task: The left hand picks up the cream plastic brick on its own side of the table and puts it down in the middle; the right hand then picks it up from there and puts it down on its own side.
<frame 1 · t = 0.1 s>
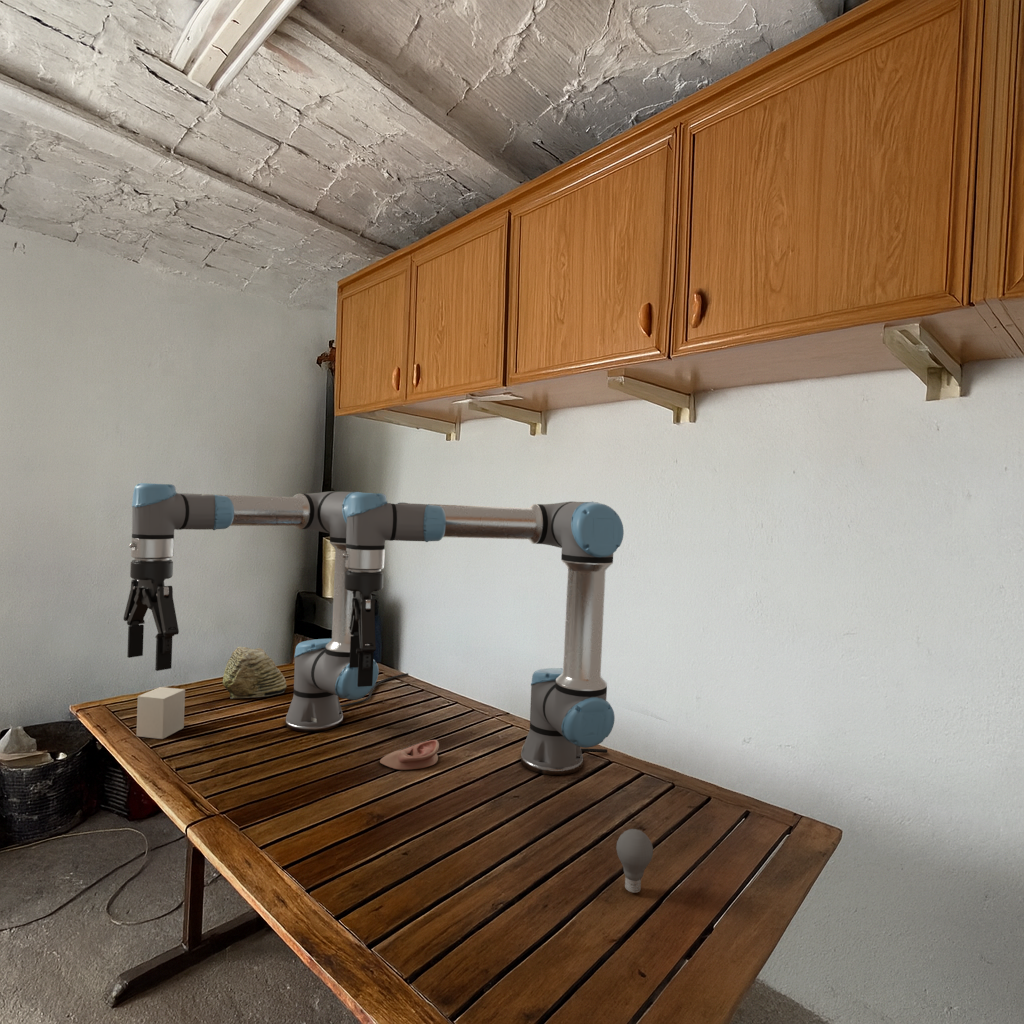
left hand: (148, 662, 129), 28 cm above the table, tool pointing down, fingers open, 13 cm apart
right hand: (360, 676, 126), 28 cm above the table, tool pointing down, fingers open, 13 cm apart
anatomical model: (409, 761, 154), on the table
light bulb: (632, 891, 106), on the table
fossil: (254, 694, 198), on the table
brick: (160, 732, 165), on the table
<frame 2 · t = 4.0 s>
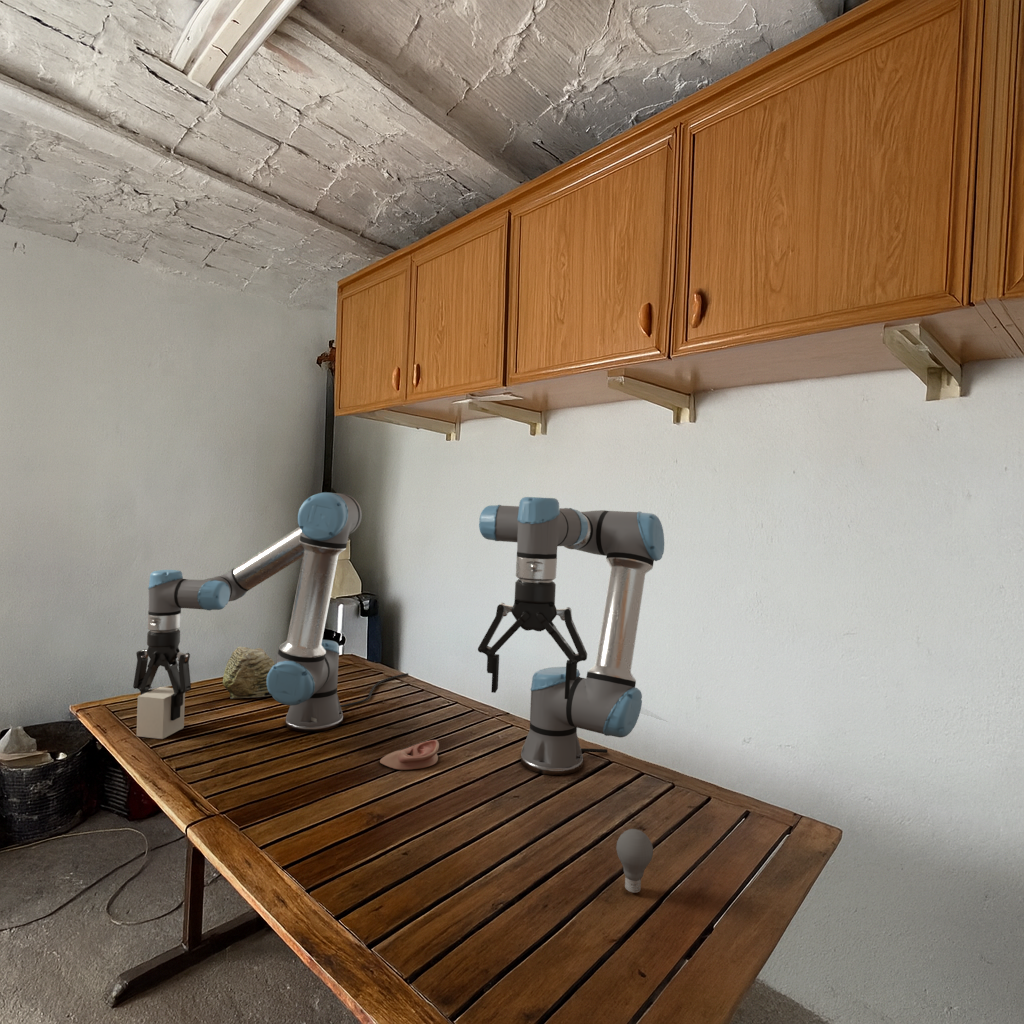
left hand: (161, 717, 165), 4 cm above the table, tool pointing down, fingers closed on brick, 7 cm apart
right hand: (530, 693, 118), 28 cm above the table, tool pointing down, fingers open, 13 cm apart
brick: (160, 732, 165), on the table, touching left hand
everything else where it was.
when the left hand's fingers open (5 cm above the table, at t = 11.0 s): brick drops 1 cm, on the table.
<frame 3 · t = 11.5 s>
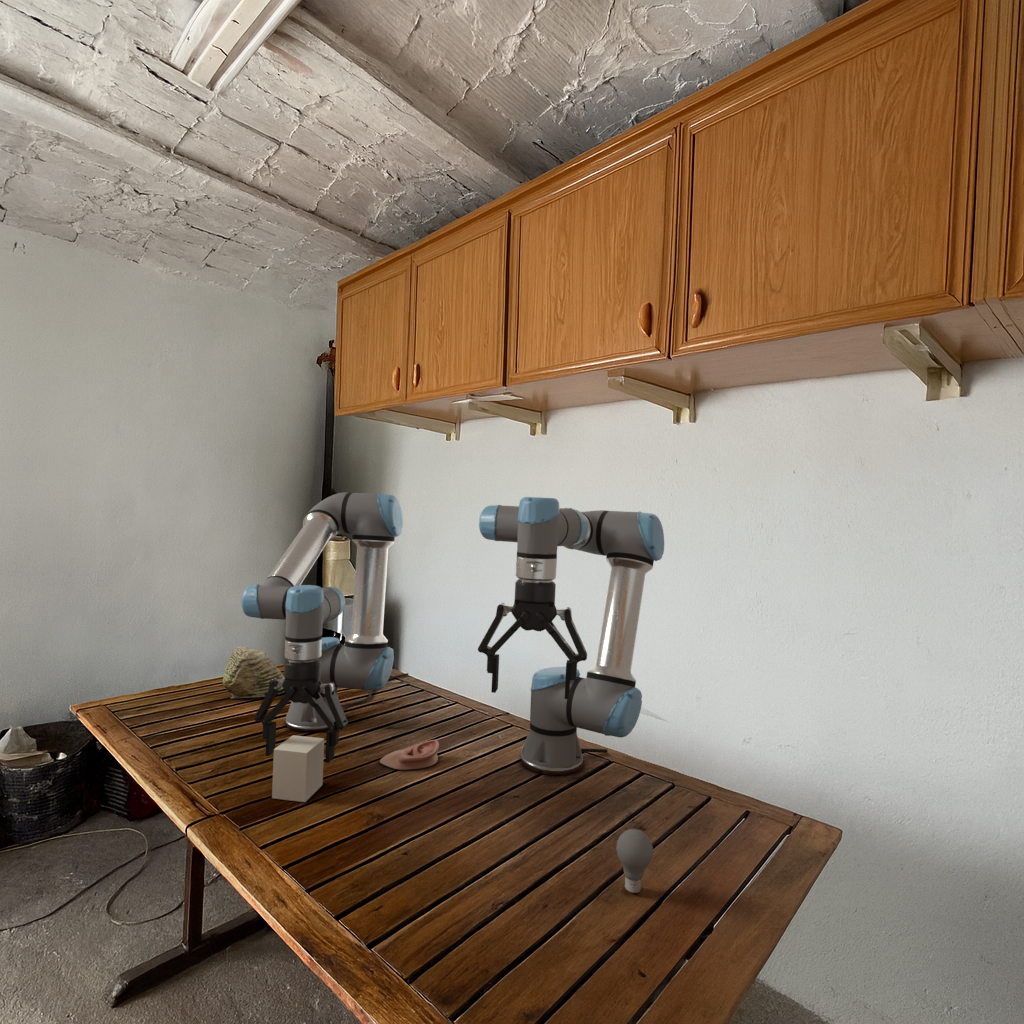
left hand: (299, 757, 136), 7 cm above the table, tool pointing down, fingers open, 13 cm apart
right hand: (530, 693, 118), 28 cm above the table, tool pointing down, fingers open, 13 cm apart
brick: (297, 791, 136), on the table
everything else where it was.
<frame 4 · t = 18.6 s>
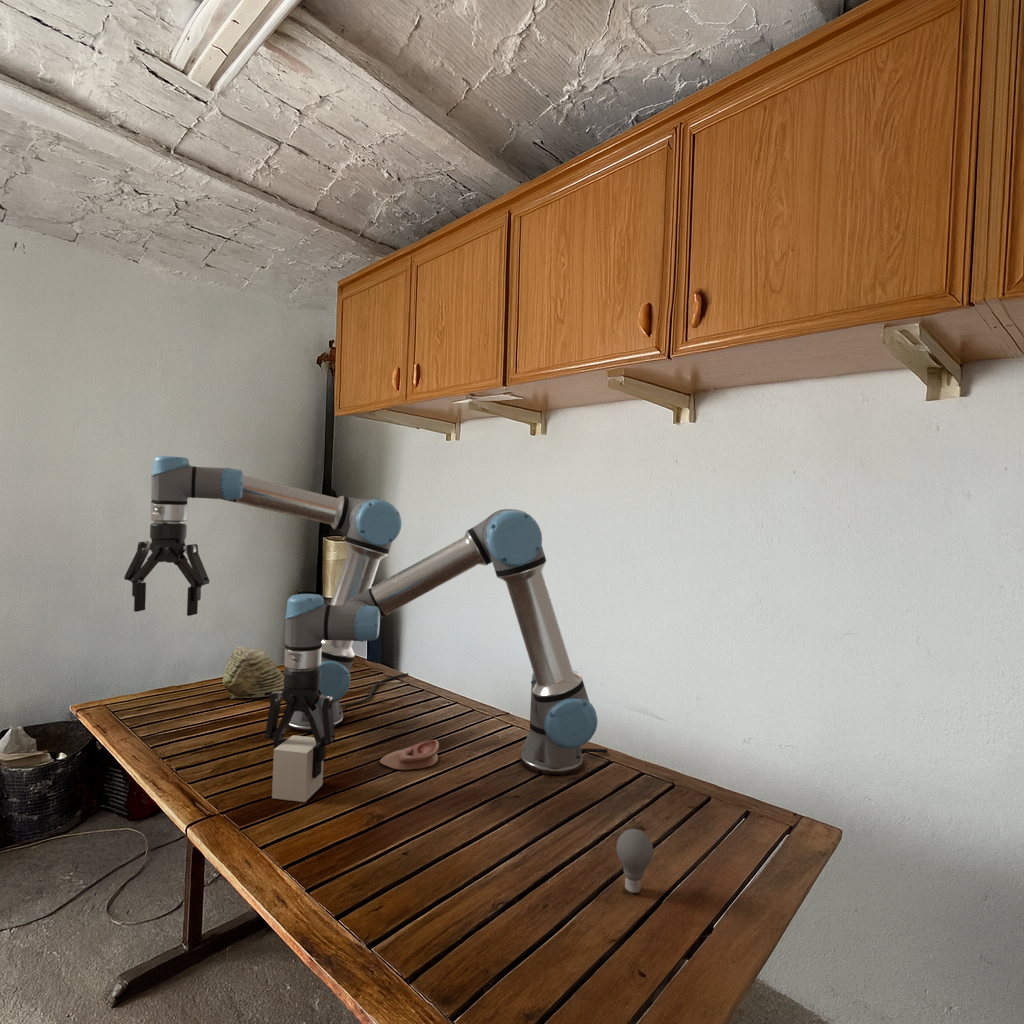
left hand: (165, 612, 149), 34 cm above the table, tool pointing down, fingers open, 13 cm apart
right hand: (298, 773, 136), 4 cm above the table, tool pointing down, fingers closed on brick, 7 cm apart
brick: (297, 791, 136), on the table, touching right hand
everything else where it was.
when the right hand's fingers open (5 cm above the table, at t = 25.1 s): brick drops 1 cm, on the table.
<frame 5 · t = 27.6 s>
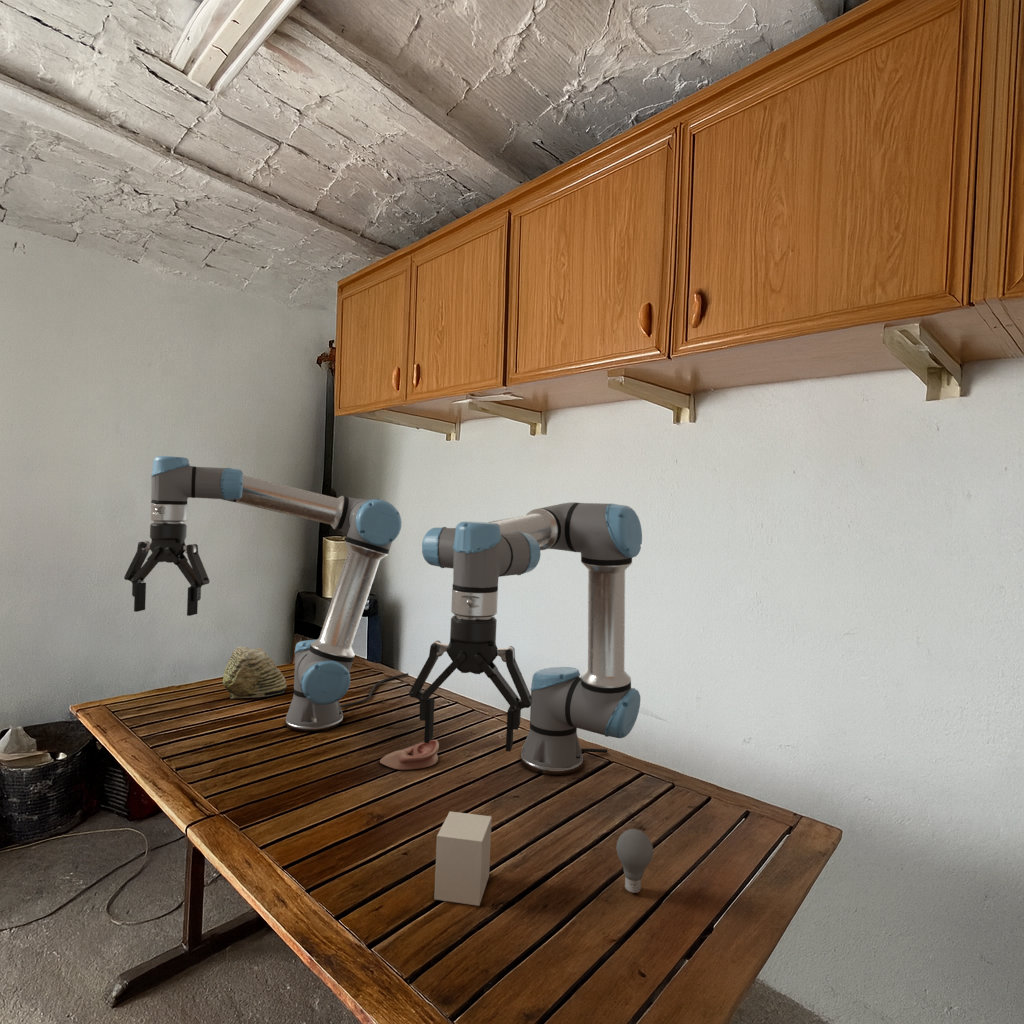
left hand: (165, 612, 149), 34 cm above the table, tool pointing down, fingers open, 13 cm apart
right hand: (468, 744, 104), 24 cm above the table, tool pointing down, fingers open, 13 cm apart
brick: (462, 887, 105), on the table
everything else where it was.
at the end: brick inside the target area (0.0 cm from its centre), on the table; brick tilted 0°; the two hands never held the brick at the same time; the left hand is holding nothing; the right hand is holding nothing; brick at rest at the end (0.0 cm/s) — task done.
